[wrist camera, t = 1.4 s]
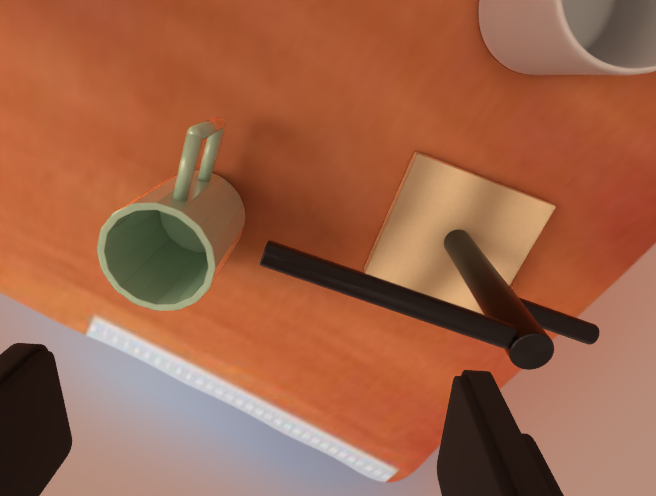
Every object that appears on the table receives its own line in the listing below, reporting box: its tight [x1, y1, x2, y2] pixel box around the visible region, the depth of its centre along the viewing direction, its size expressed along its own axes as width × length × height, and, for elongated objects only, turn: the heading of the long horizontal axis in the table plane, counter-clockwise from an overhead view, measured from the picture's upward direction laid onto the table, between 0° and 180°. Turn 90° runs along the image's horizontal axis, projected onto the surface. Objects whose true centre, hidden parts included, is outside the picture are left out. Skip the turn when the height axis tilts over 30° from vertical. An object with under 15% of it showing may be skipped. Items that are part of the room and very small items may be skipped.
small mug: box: [97, 117, 245, 311], centre depth 29 cm, size 11×7×9 cm, turn 160°
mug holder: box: [260, 151, 599, 370], centre depth 27 cm, size 19×10×15 cm, turn 70°
